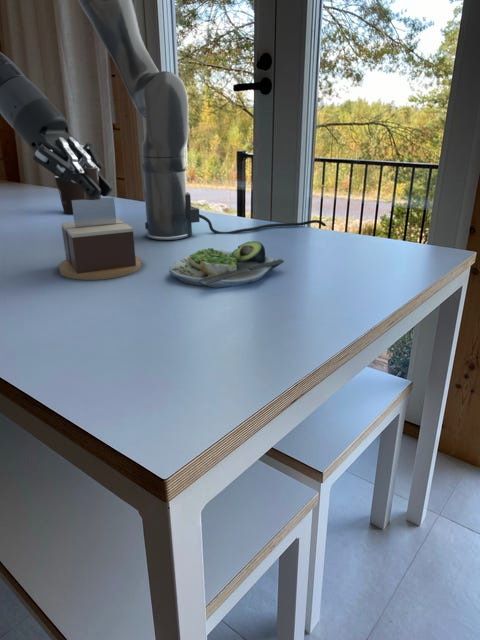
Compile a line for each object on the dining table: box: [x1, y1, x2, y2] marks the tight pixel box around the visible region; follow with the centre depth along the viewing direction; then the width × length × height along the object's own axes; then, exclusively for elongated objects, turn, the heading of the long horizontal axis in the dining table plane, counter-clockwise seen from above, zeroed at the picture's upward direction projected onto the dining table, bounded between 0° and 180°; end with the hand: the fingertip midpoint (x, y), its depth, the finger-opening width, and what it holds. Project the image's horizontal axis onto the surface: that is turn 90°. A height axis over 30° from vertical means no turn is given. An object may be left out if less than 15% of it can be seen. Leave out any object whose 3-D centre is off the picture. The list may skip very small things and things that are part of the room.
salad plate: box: [168, 240, 285, 289], centre depth 80 cm, size 19×18×5 cm
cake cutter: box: [72, 166, 117, 228], centre depth 80 cm, size 7×3×12 cm, turn 118°
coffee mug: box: [54, 175, 85, 216], centre depth 135 cm, size 12×9×10 cm
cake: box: [58, 217, 142, 281], centre depth 83 cm, size 14×14×8 cm
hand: (102, 193), depth 79 cm, fingers closed on cake cutter, 2 cm apart
